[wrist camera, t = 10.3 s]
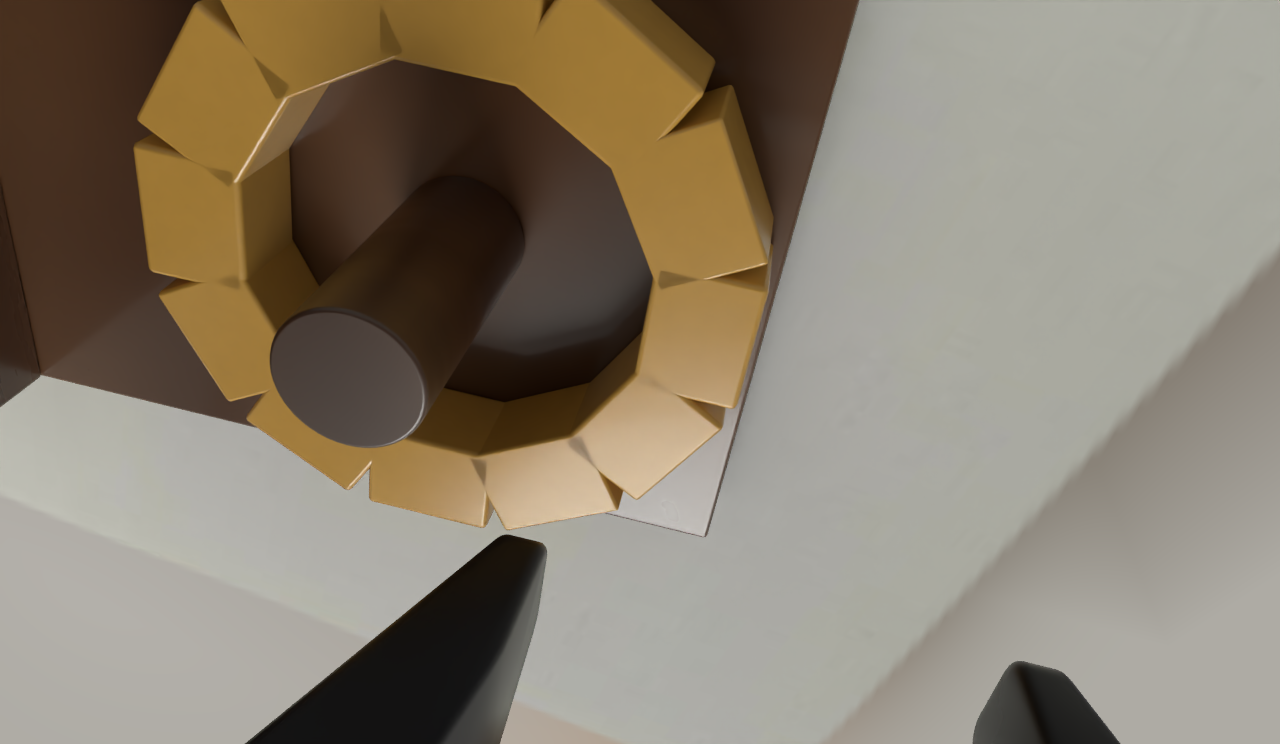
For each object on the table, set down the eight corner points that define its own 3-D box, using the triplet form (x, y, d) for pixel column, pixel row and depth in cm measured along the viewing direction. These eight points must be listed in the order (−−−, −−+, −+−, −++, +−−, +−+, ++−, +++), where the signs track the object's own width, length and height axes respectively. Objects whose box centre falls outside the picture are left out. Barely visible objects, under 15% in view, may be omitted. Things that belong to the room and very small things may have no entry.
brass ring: (842, -5, 12) (844, 22, 11) (699, 519, 17) (689, 581, 16) (169, -149, 13) (92, -140, 11) (219, 403, 18) (169, 453, 16)
